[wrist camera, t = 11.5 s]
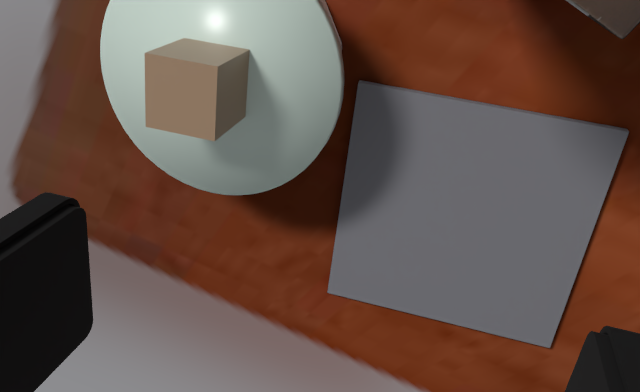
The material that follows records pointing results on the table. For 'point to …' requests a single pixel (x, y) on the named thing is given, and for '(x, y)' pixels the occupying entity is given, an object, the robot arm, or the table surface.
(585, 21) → the table surface
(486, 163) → the mat
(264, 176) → the lid
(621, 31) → the coffee box
